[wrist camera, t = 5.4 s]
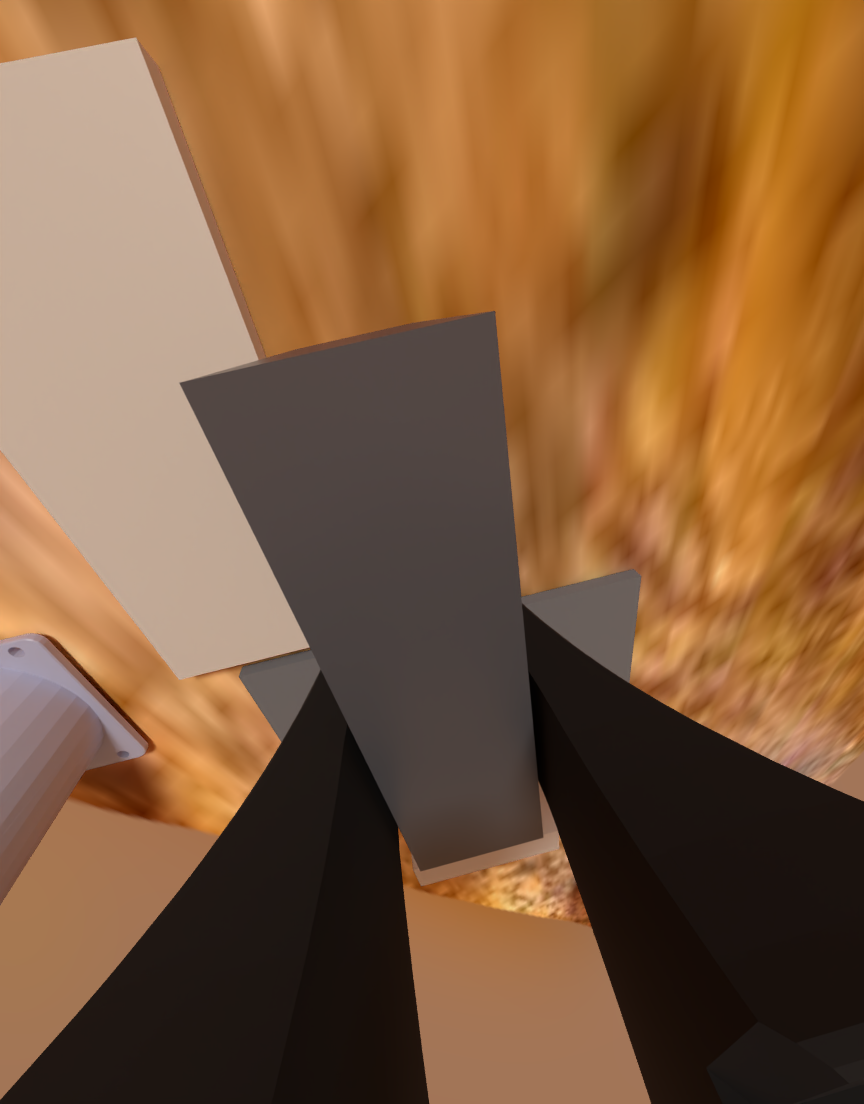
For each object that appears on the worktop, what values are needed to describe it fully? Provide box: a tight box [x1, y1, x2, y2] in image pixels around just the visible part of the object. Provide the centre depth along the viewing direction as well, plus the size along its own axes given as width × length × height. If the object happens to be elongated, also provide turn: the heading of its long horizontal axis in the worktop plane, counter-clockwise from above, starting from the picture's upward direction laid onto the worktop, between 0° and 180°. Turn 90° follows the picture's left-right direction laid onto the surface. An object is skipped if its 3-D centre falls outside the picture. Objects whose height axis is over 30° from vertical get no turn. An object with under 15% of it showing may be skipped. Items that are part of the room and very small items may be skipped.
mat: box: [239, 569, 641, 742], centre depth 22 cm, size 19×15×1 cm
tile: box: [412, 781, 559, 886], centre depth 18 cm, size 6×2×7 cm, turn 101°
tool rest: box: [0, 38, 309, 680], centre depth 13 cm, size 8×17×1 cm, turn 11°
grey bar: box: [180, 311, 543, 872], centre depth 9 cm, size 5×15×6 cm, turn 11°
